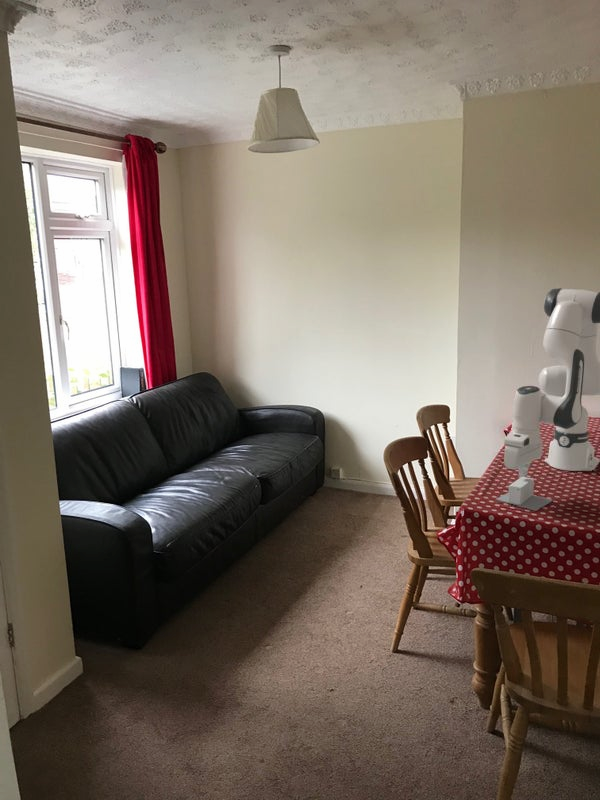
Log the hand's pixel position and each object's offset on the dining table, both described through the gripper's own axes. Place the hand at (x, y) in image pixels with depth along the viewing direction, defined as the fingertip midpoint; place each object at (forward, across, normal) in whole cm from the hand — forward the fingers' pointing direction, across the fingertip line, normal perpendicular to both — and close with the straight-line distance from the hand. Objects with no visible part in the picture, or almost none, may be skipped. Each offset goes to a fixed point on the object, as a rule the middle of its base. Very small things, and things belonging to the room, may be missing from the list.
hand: (522, 475), depth 222 cm
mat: (+8, +2, +2) cm, 8 cm away
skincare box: (+4, -3, 0) cm, 5 cm away
